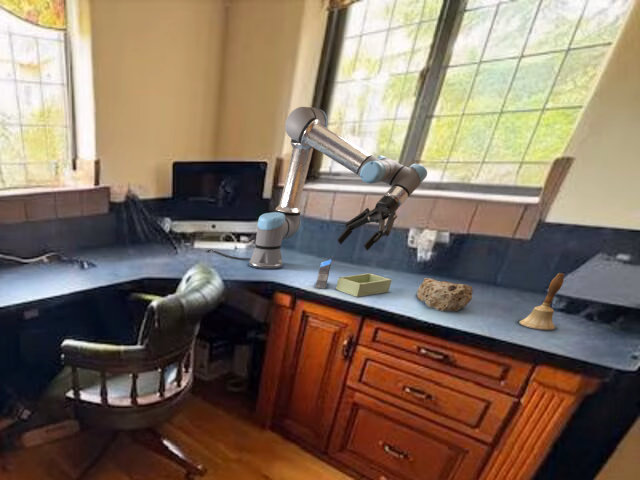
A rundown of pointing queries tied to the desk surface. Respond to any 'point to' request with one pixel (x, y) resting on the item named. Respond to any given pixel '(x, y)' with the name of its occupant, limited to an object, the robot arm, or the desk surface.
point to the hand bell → (544, 308)
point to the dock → (363, 284)
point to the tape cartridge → (323, 274)
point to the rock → (444, 295)
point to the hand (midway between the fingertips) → (351, 244)
